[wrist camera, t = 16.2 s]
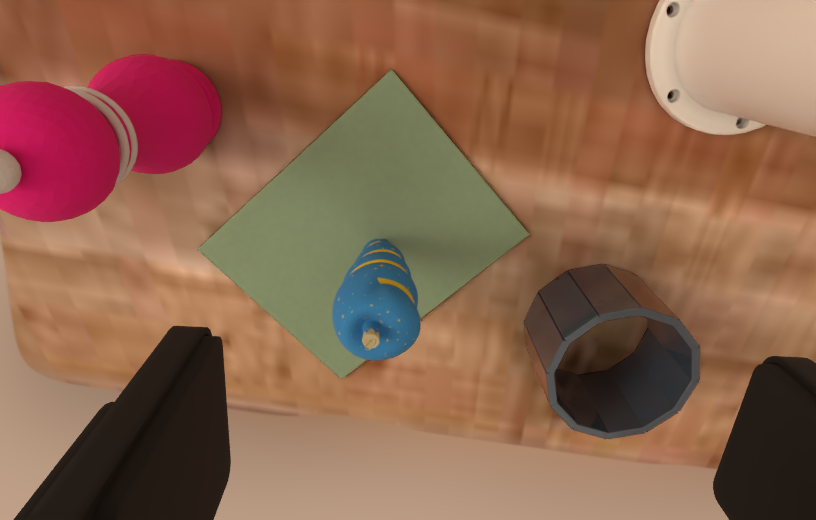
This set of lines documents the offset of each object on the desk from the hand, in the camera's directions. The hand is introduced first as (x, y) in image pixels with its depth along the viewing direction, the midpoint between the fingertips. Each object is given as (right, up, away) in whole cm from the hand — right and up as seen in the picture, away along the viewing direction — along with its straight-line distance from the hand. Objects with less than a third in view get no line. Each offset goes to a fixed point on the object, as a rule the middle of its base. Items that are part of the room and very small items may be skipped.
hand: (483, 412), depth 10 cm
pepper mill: (-17, +14, +29) cm, 37 cm away
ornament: (-3, +4, +33) cm, 33 cm away
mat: (-5, +4, +33) cm, 34 cm away
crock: (+14, -3, +36) cm, 39 cm away
